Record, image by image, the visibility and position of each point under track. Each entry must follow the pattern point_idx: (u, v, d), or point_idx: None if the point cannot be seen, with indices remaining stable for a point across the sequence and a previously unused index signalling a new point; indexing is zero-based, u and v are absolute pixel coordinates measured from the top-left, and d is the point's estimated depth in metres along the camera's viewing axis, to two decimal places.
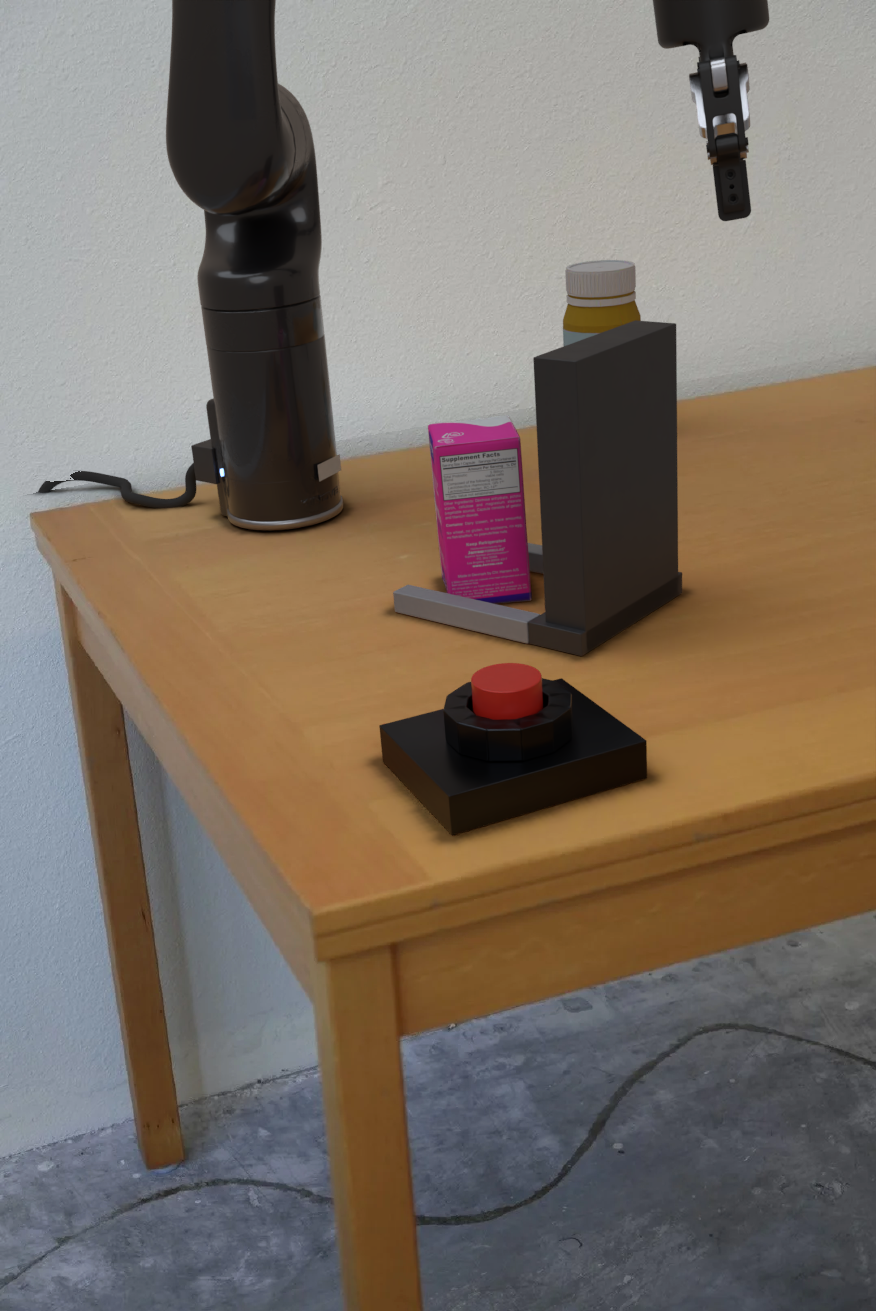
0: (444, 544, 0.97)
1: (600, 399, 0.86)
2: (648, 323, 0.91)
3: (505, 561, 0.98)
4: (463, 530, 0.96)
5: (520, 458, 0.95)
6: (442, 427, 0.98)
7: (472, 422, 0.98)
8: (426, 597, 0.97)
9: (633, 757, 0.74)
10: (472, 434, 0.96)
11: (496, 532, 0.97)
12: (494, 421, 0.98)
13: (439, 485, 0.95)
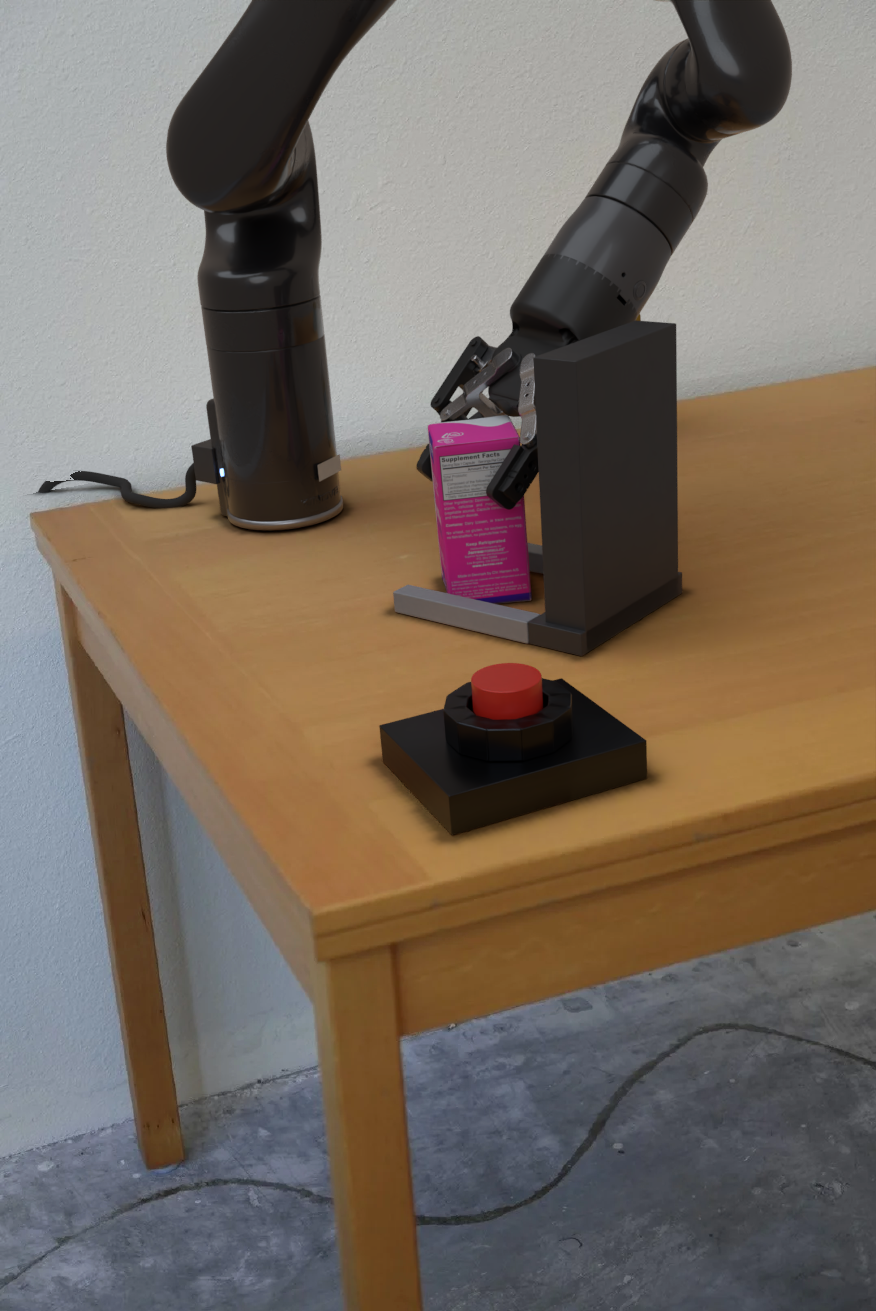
0: (444, 544, 0.97)
1: (600, 399, 0.86)
2: (648, 323, 0.91)
3: (505, 561, 0.98)
4: (462, 530, 0.96)
5: None
6: (442, 427, 0.98)
7: (472, 422, 0.98)
8: (426, 597, 0.97)
9: (633, 757, 0.74)
10: (471, 434, 0.96)
11: (496, 532, 0.97)
12: (494, 421, 0.98)
13: (439, 485, 0.95)
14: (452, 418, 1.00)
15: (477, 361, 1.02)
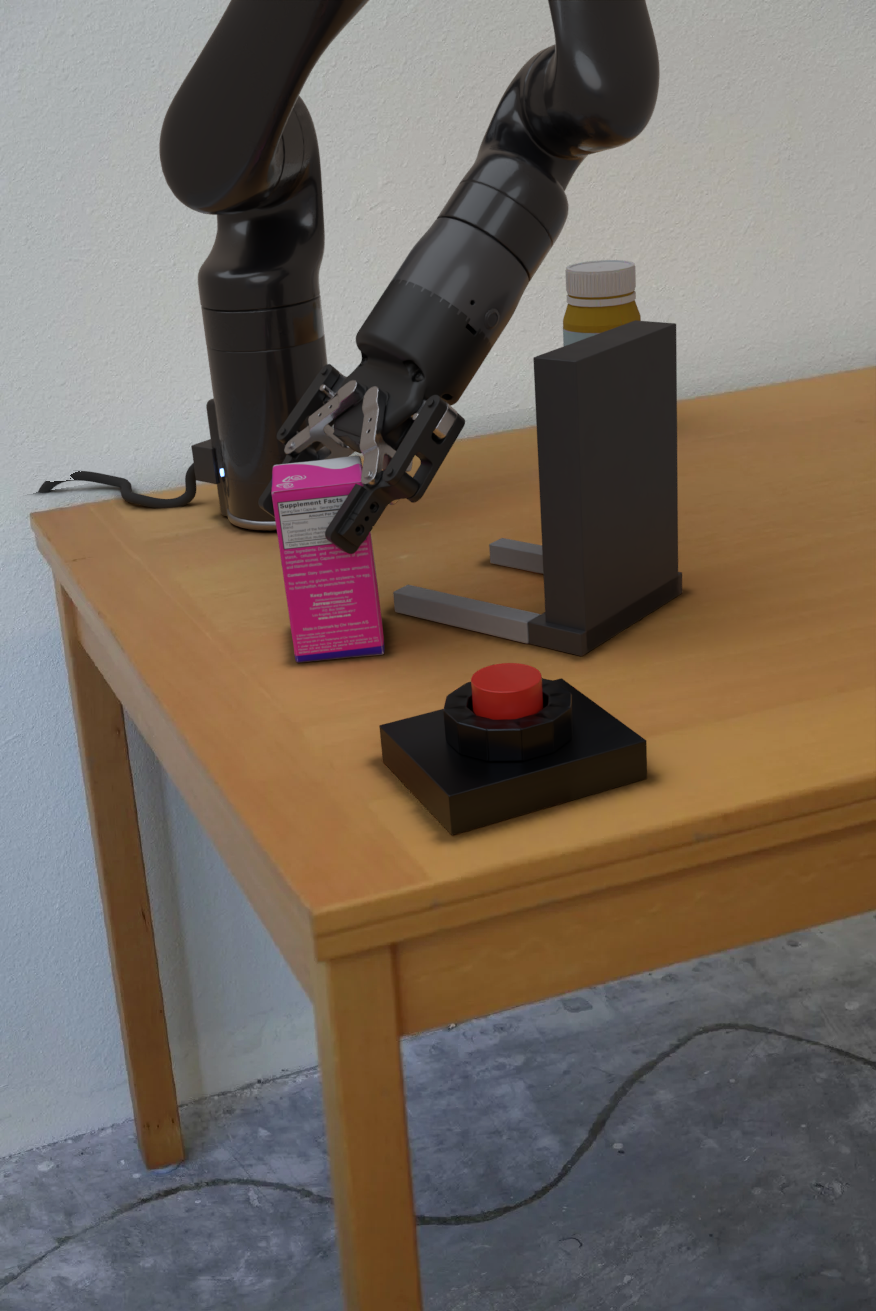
0: (287, 595, 0.90)
1: (600, 399, 0.86)
2: (648, 323, 0.91)
3: (353, 613, 0.91)
4: (306, 580, 0.90)
5: None
6: (286, 469, 0.91)
7: (319, 464, 0.92)
8: (426, 597, 0.97)
9: (633, 757, 0.74)
10: (314, 478, 0.89)
11: (342, 582, 0.90)
12: (342, 463, 0.91)
13: (278, 533, 0.89)
14: (296, 452, 0.94)
15: (326, 391, 0.95)
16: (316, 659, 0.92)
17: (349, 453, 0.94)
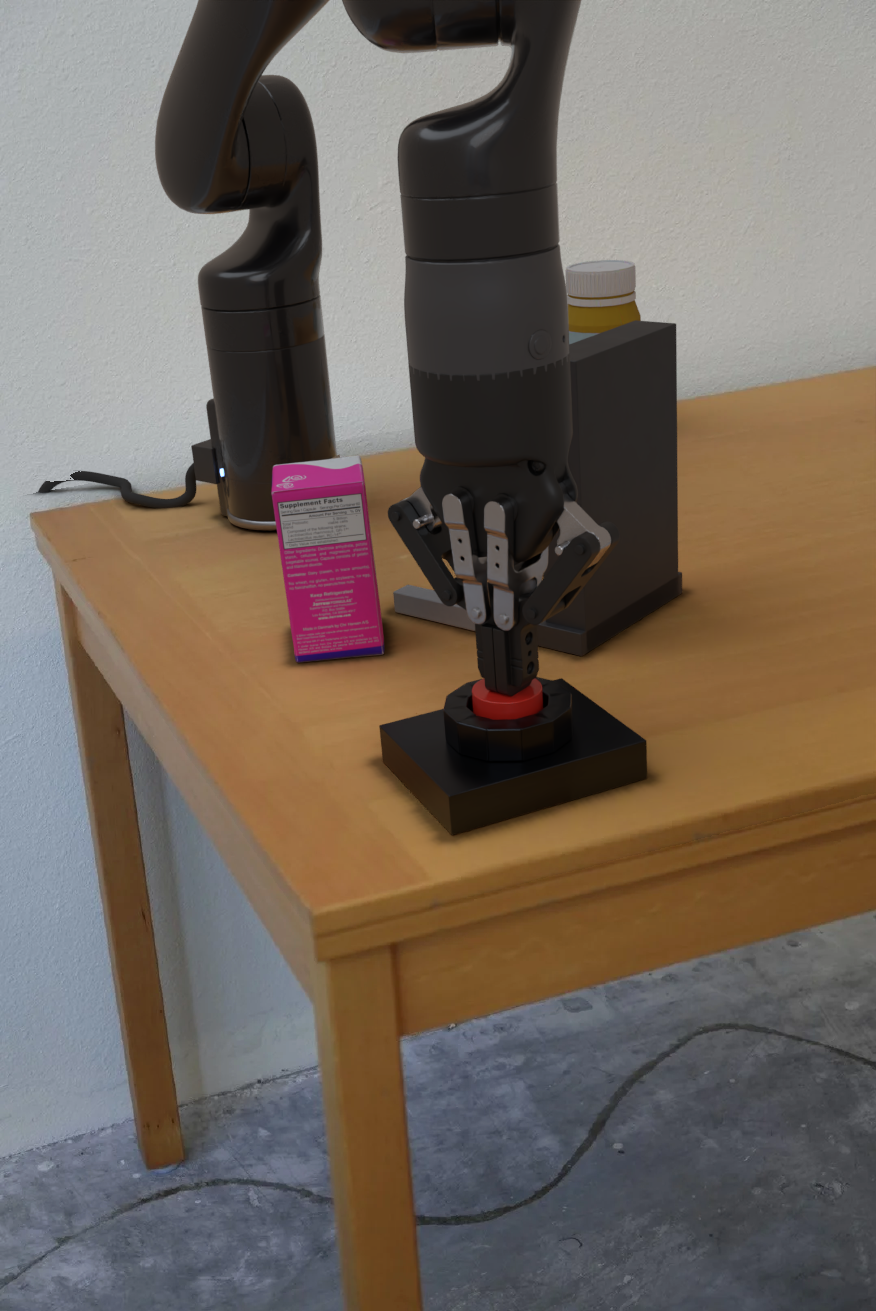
0: (287, 595, 0.90)
1: (600, 399, 0.86)
2: (648, 323, 0.91)
3: (353, 613, 0.91)
4: (306, 580, 0.90)
5: (365, 504, 0.88)
6: (286, 469, 0.91)
7: (319, 464, 0.92)
8: (426, 597, 0.97)
9: (633, 757, 0.74)
10: (314, 478, 0.89)
11: (342, 582, 0.90)
12: (342, 463, 0.91)
13: (278, 533, 0.89)
14: None
15: None
16: (316, 659, 0.92)
17: None
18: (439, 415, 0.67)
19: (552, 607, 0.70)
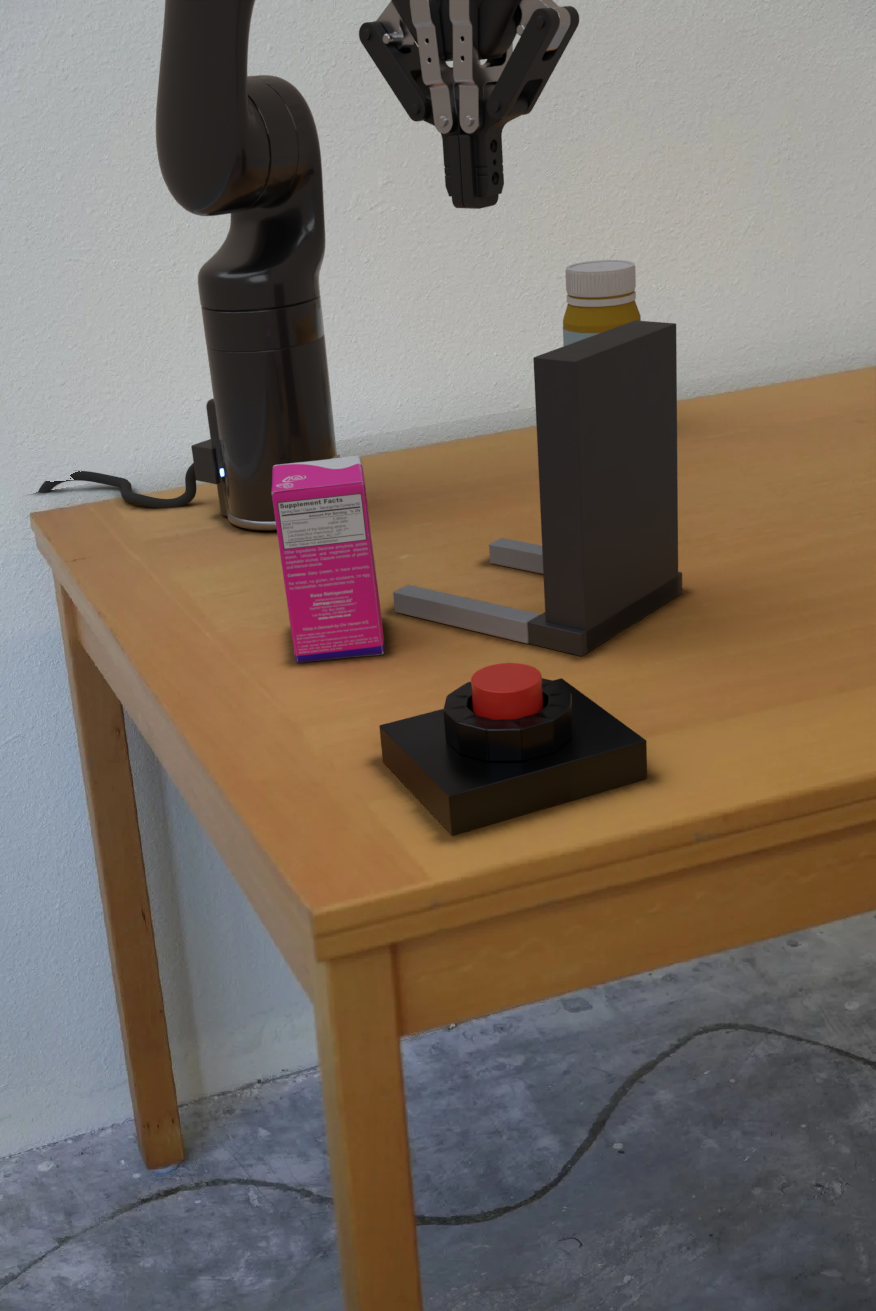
0: (287, 595, 0.90)
1: (600, 399, 0.86)
2: (648, 323, 0.91)
3: (353, 613, 0.91)
4: (306, 580, 0.90)
5: (365, 504, 0.88)
6: (286, 469, 0.91)
7: (319, 464, 0.92)
8: (426, 597, 0.97)
9: (633, 757, 0.74)
10: (314, 478, 0.89)
11: (342, 582, 0.90)
12: (342, 463, 0.91)
13: (278, 533, 0.89)
14: None
15: None
16: (316, 659, 0.92)
17: None
18: None
19: (514, 94, 0.73)
